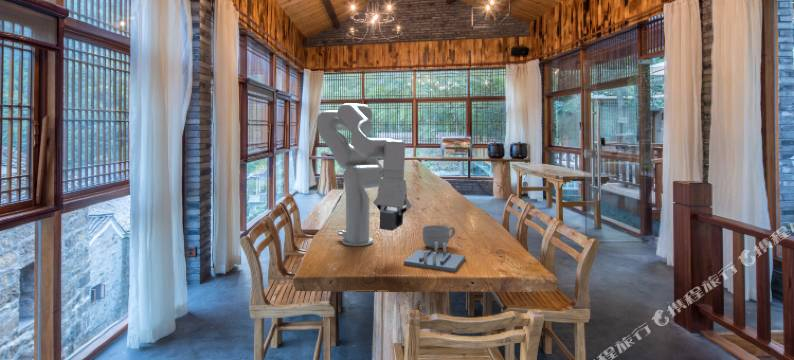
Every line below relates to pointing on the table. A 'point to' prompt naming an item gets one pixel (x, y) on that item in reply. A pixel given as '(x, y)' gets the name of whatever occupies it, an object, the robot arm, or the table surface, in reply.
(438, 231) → the teacup
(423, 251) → the grey stand
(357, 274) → the table surface
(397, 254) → the table surface
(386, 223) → the block
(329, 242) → the table surface
